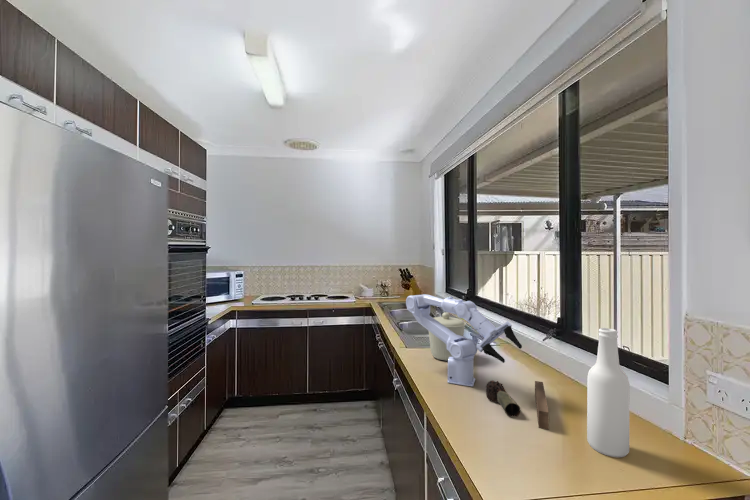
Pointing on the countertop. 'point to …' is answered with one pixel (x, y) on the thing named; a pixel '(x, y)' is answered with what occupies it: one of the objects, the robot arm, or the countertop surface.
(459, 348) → the robot arm
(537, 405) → the brown wooden plank
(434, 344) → the canister
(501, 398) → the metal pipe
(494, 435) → the countertop surface
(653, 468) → the countertop surface
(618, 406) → the alcohol
